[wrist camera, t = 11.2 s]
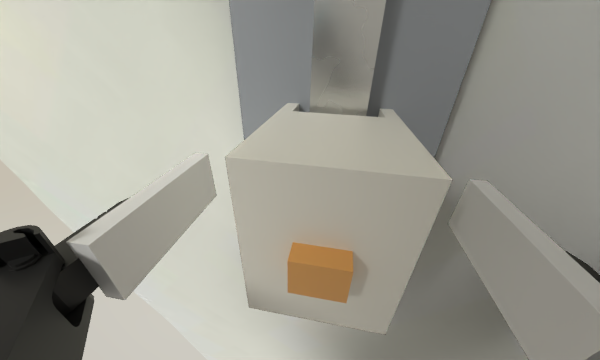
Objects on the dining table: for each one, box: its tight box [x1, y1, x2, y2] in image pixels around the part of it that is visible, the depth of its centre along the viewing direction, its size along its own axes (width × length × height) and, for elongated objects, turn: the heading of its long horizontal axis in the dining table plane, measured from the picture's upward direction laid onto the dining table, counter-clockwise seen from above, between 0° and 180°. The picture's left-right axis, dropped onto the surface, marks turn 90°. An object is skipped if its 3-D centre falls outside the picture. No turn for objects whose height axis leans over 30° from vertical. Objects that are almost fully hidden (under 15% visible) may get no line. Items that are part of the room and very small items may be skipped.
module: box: [225, 103, 452, 335], centre depth 11 cm, size 6×8×9 cm
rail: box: [310, 0, 386, 116], centre depth 12 cm, size 3×20×1 cm, turn 179°
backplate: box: [229, 0, 491, 158], centre depth 12 cm, size 12×24×1 cm, turn 179°
